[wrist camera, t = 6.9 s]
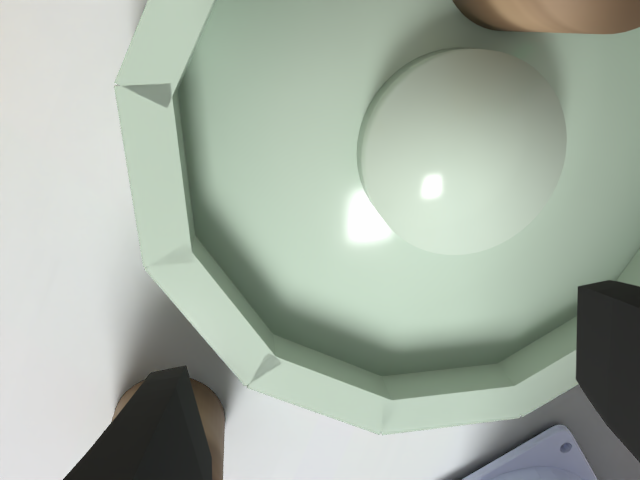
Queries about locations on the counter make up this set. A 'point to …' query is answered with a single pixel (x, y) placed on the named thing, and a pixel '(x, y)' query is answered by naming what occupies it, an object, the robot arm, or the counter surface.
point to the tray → (382, 198)
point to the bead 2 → (553, 15)
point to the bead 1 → (210, 419)
